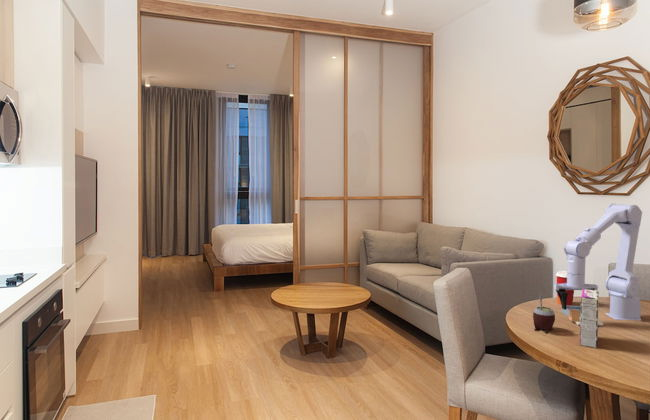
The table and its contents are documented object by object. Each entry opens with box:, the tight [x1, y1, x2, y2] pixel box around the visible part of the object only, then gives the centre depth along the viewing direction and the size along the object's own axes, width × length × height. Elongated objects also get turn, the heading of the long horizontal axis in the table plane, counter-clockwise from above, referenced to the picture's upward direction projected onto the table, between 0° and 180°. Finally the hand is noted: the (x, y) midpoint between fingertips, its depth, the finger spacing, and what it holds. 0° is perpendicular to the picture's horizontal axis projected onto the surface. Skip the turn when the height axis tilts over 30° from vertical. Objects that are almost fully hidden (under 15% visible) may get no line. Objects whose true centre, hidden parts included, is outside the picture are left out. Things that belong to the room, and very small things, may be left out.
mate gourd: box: [532, 292, 556, 335], centre depth 156 cm, size 8×8×15 cm
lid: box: [568, 309, 604, 327], centre depth 163 cm, size 10×7×5 cm
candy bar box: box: [579, 289, 600, 349], centre depth 145 cm, size 11×5×16 cm, turn 148°
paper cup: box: [555, 270, 575, 306], centre depth 187 cm, size 8×8×14 cm
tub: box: [561, 305, 581, 318], centre depth 173 cm, size 8×6×3 cm
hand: (574, 309), depth 163 cm, fingers open, 7 cm apart
